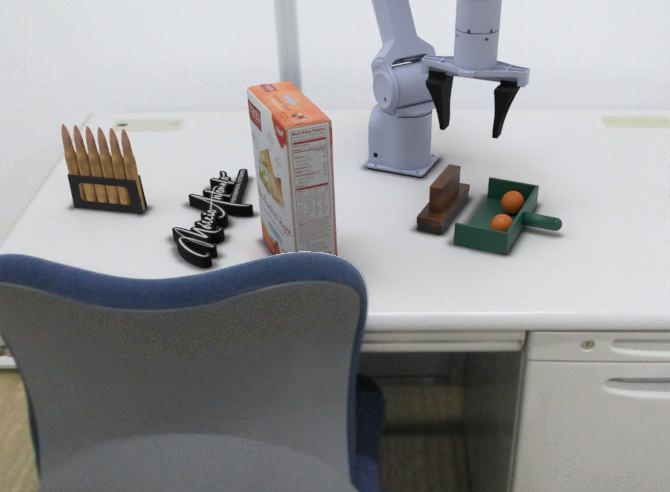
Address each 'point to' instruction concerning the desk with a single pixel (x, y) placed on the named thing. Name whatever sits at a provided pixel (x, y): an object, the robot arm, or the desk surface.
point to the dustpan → (479, 226)
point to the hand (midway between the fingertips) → (470, 131)
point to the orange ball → (512, 202)
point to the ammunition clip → (103, 173)
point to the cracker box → (293, 169)
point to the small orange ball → (501, 222)
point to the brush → (443, 201)
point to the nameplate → (212, 218)
